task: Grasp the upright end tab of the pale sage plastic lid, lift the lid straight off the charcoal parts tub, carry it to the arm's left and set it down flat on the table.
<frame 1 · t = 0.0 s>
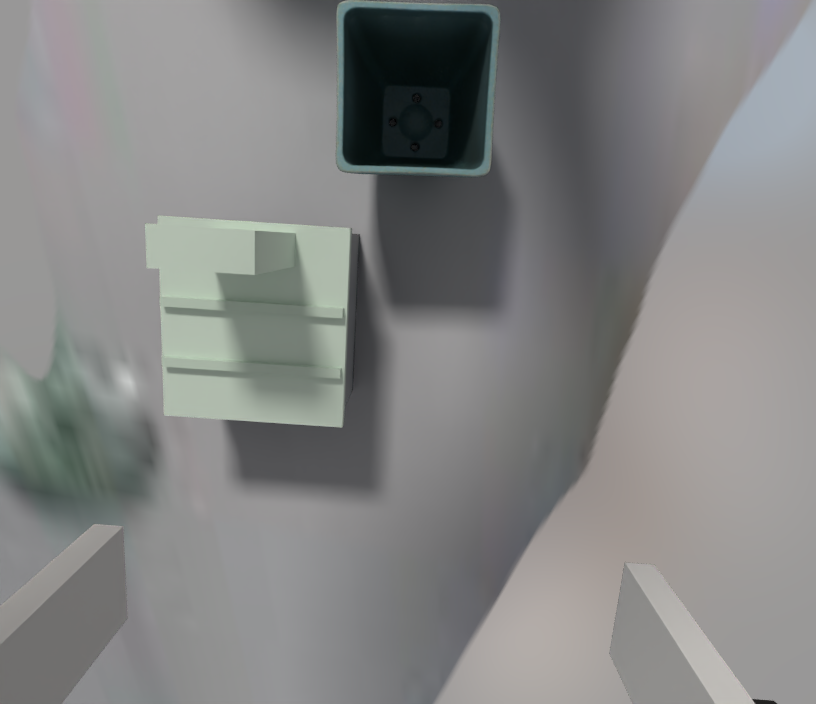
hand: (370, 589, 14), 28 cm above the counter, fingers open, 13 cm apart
tub: (284, 309, 41), on the counter
flower pot: (416, 125, 38), on the counter
lid: (257, 323, 34), point 7 cm above the counter, touching tub
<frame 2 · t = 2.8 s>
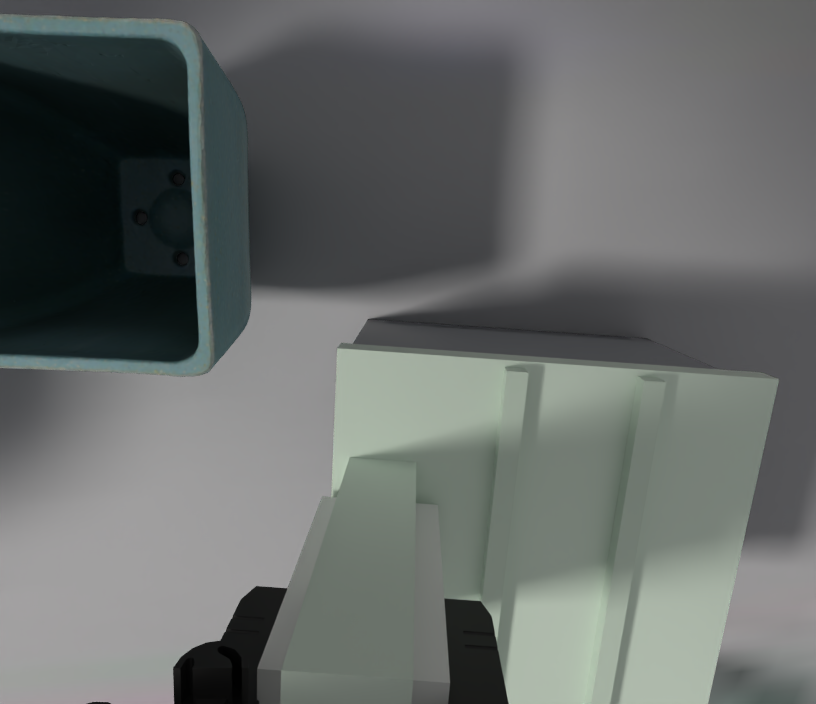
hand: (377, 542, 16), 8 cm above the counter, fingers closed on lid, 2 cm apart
tub: (494, 448, 24), on the counter
flower pot: (187, 218, 22), on the counter
lid: (528, 532, 17), point 7 cm above the counter, touching gripper, tub
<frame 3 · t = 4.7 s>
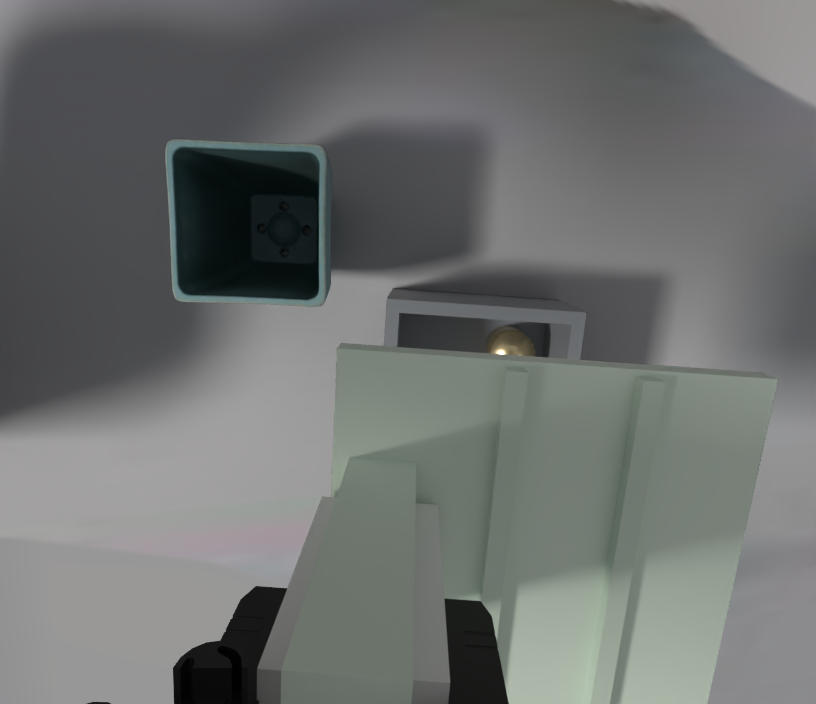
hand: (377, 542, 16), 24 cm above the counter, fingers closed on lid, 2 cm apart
tub: (468, 367, 40), on the counter
part b: (505, 345, 39), point 1 cm above the counter, touching tub
flower pot: (287, 229, 38), on the counter
lid: (528, 532, 17), point 23 cm above the counter, touching gripper
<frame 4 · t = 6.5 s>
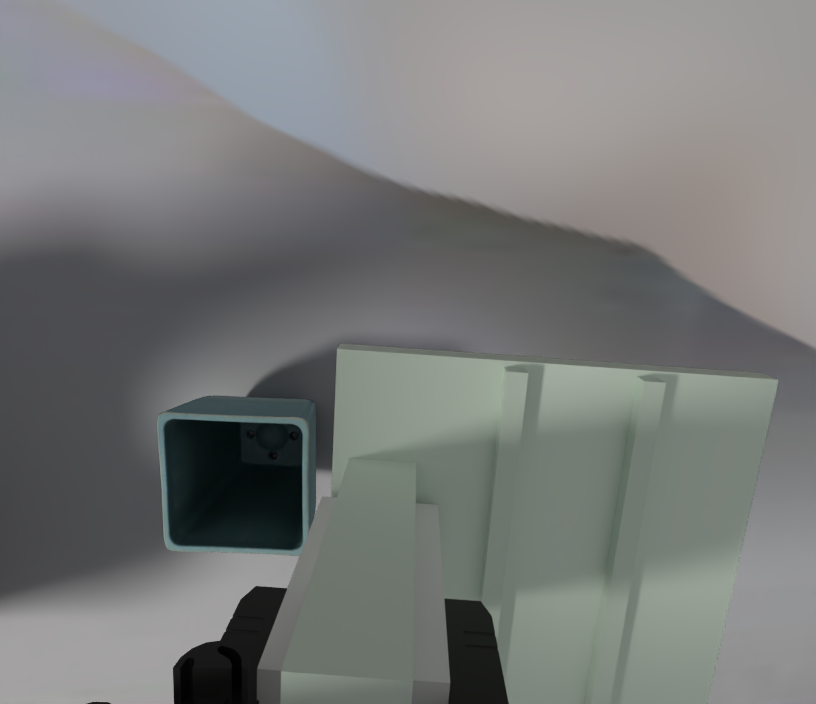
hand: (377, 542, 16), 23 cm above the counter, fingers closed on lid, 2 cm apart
flower pot: (275, 431, 40), on the counter
lid: (528, 533, 17), point 22 cm above the counter, touching gripper
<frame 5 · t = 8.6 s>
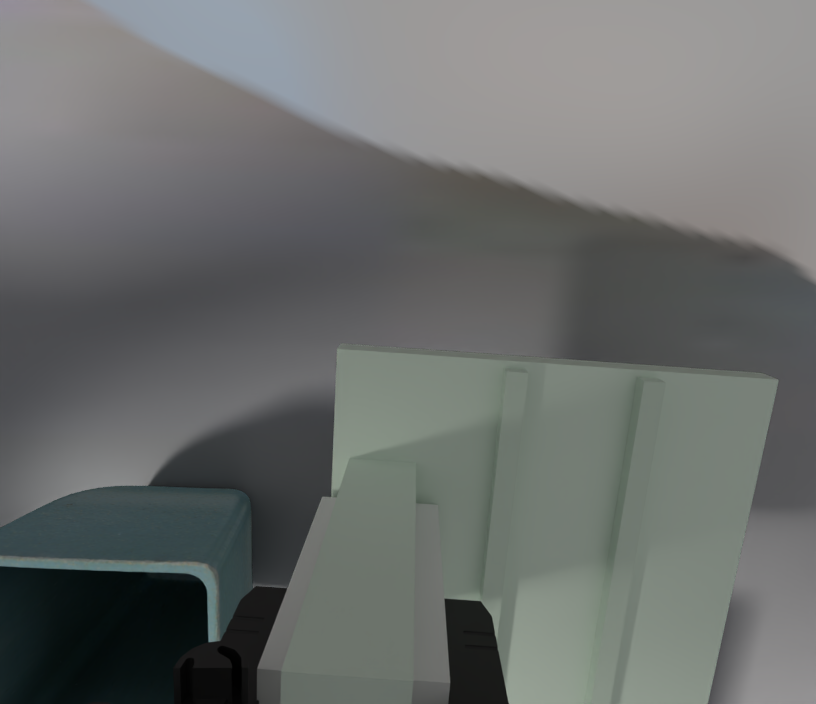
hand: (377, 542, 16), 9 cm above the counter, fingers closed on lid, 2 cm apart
flower pot: (199, 530, 26), on the counter
lid: (528, 533, 17), point 8 cm above the counter, touching gripper
when the fingers open (3 cm above the counter, at t = 10.1 s): lid drops 1 cm, point 1 cm above the counter.
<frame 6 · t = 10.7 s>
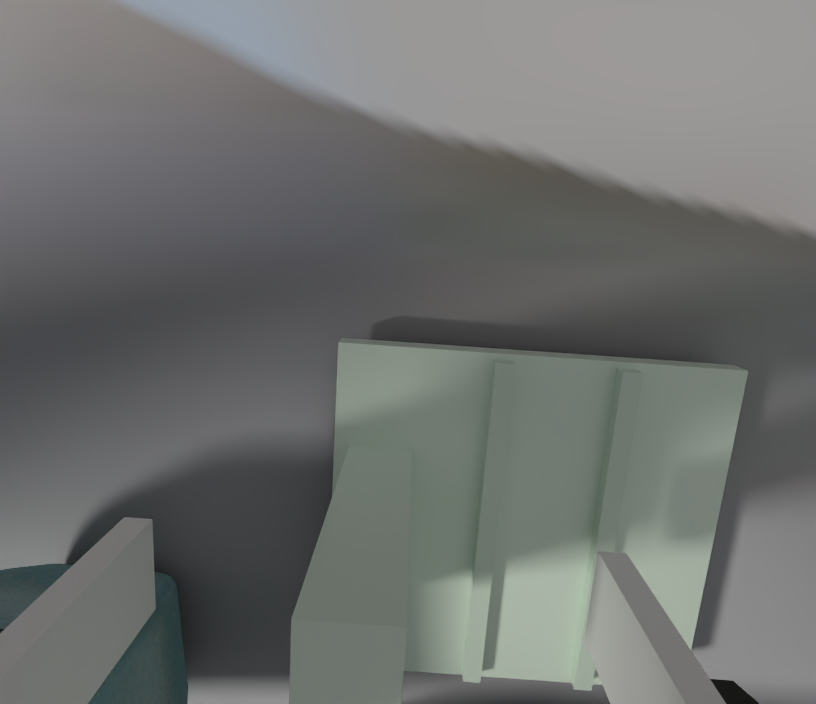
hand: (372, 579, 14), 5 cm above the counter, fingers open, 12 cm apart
flower pot: (128, 620, 20), on the counter
lid: (517, 515, 18), point 1 cm above the counter
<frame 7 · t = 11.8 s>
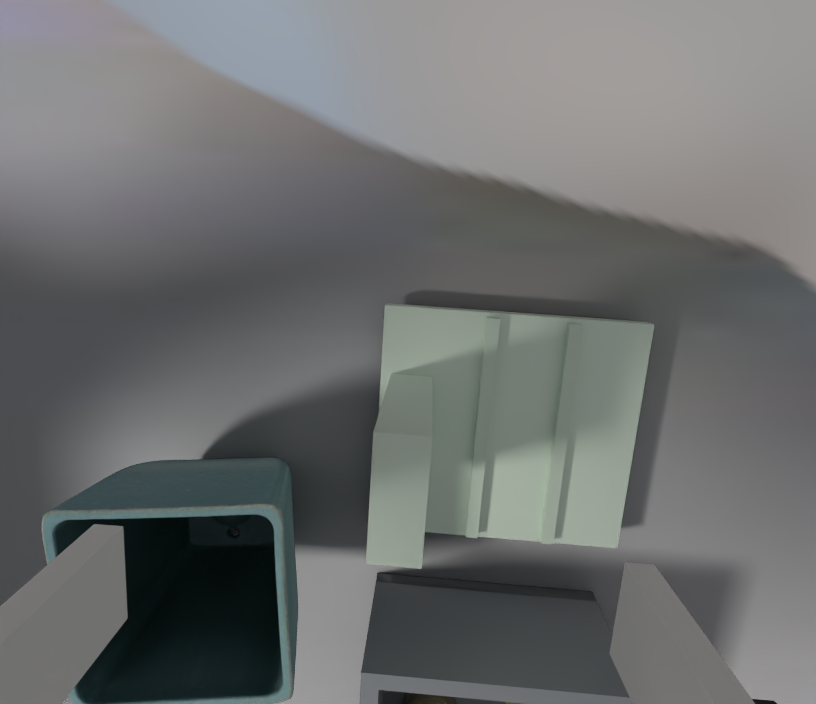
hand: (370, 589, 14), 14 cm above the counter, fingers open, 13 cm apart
tub: (475, 666, 31), on the counter
flower pot: (236, 499, 29), on the counter
part a: (429, 702, 30), point 1 cm above the counter, touching tub
lid: (503, 425, 27), point 1 cm above the counter
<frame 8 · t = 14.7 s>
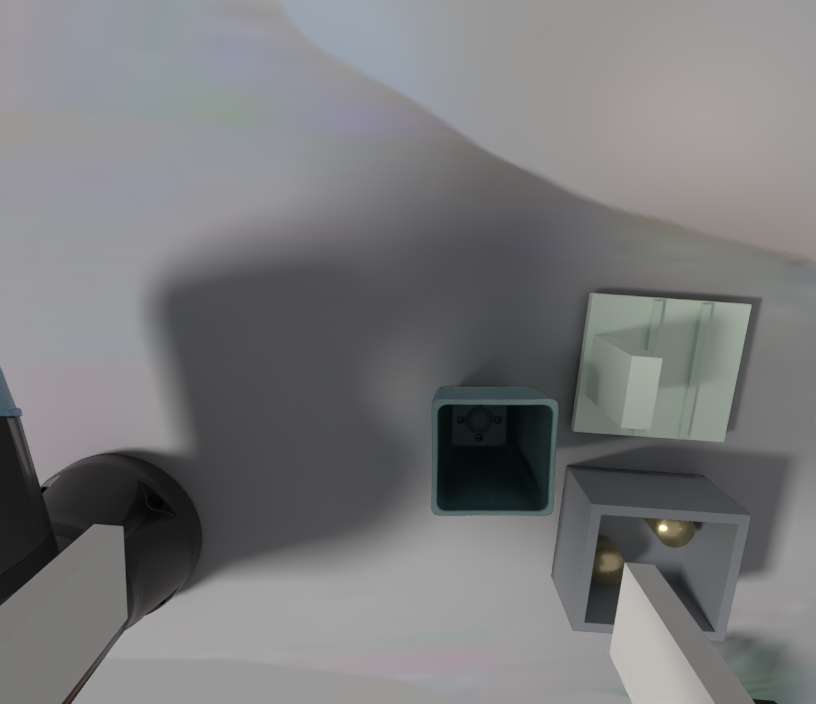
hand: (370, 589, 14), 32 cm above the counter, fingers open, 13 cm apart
tub: (625, 526, 48), on the counter
part b: (660, 513, 47), point 1 cm above the counter, touching tub
flower pot: (479, 417, 46), on the counter
part a: (597, 549, 47), point 1 cm above the counter, touching tub
lid: (655, 367, 44), point 1 cm above the counter
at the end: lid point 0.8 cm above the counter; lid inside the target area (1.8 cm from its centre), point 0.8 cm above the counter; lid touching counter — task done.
